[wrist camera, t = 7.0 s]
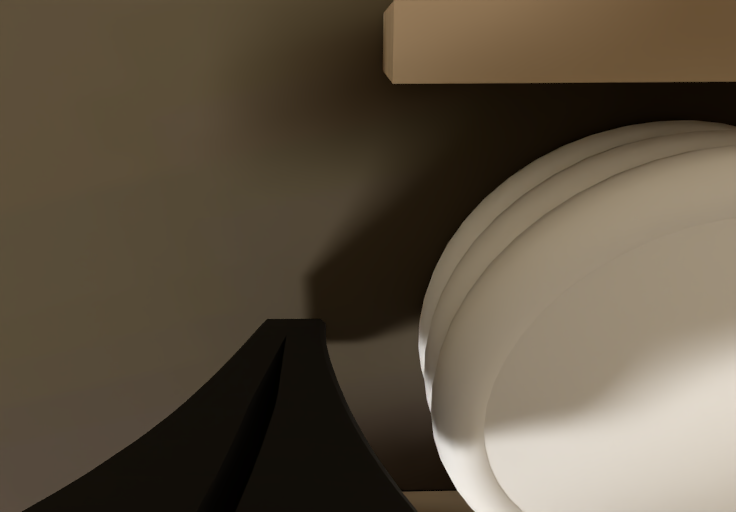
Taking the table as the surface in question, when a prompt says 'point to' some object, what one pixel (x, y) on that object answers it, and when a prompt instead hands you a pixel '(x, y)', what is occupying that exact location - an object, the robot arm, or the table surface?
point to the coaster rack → (554, 59)
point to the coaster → (593, 329)
